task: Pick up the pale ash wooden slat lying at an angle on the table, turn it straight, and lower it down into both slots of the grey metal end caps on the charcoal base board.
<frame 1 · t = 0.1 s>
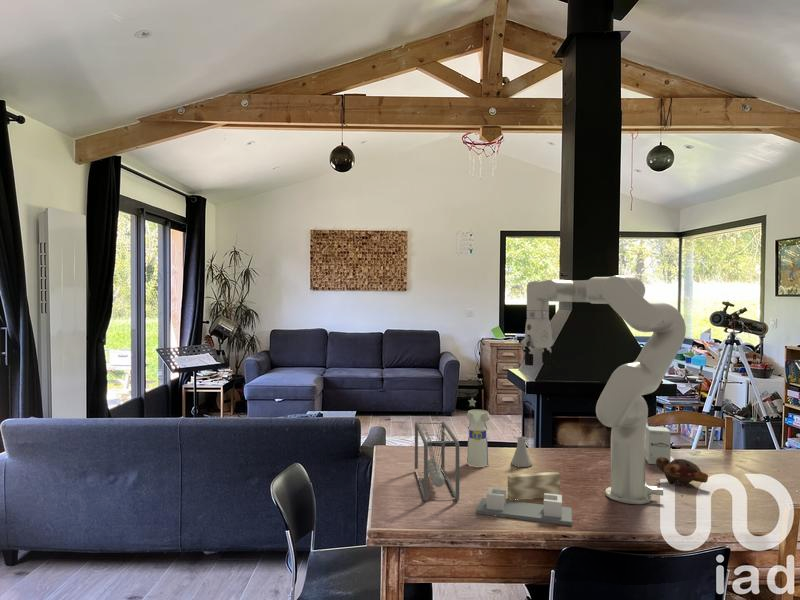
hand: (537, 364, 180), 37 cm above the table, tool pointing down, fingers open, 9 cm apart
decorative turtle: (681, 484, 165), on the table
slat: (534, 497, 153), on the table
flask: (521, 465, 185), on the table
supplement box: (657, 463, 189), on the table
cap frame: (524, 512, 141), on the table
newton's cradle: (435, 486, 163), on the table
water bottle: (478, 465, 185), on the table
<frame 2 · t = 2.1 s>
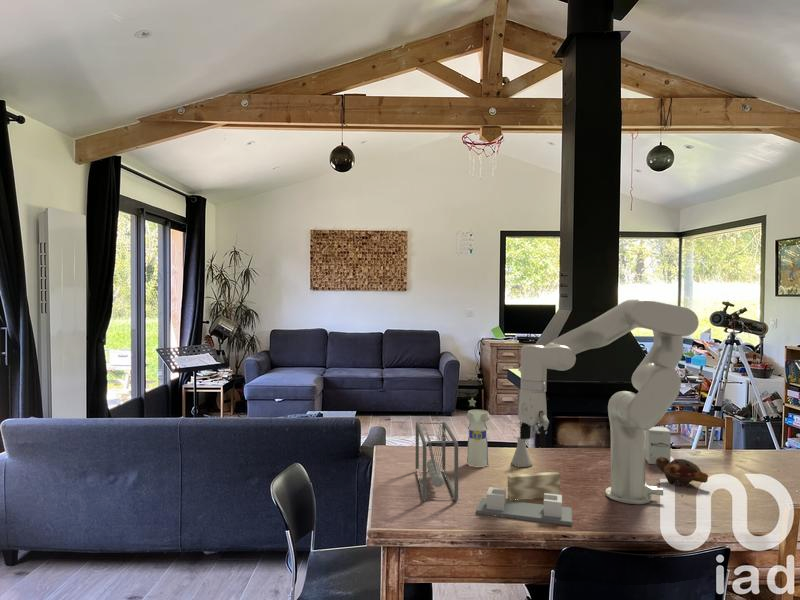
hand: (532, 442, 153), 16 cm above the table, tool pointing down, fingers open, 9 cm apart
nothing on the table moved.
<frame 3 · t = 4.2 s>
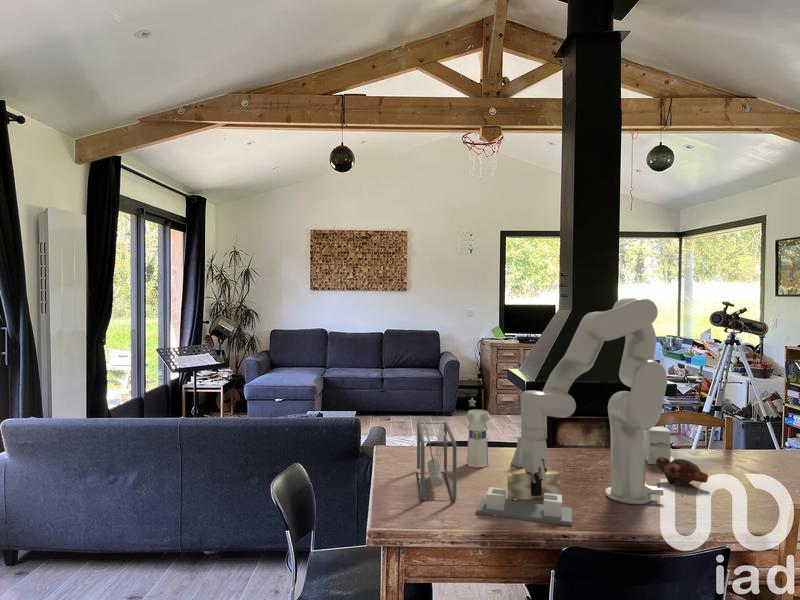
hand: (533, 493, 153), 1 cm above the table, tool pointing down, fingers closed on slat, 2 cm apart
slat: (534, 497, 153), on the table, touching gripper
everything else where it was.
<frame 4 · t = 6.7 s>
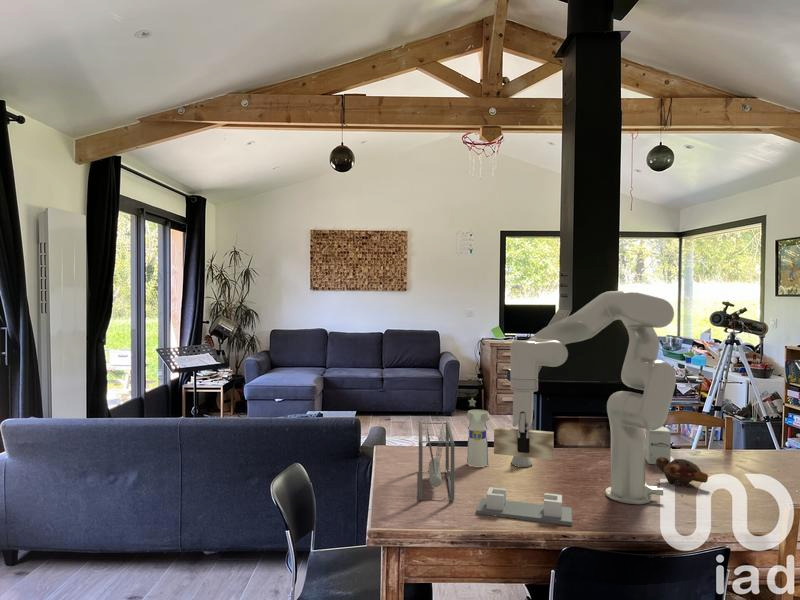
hand: (523, 450, 142), 17 cm above the table, tool pointing down, fingers closed on slat
slat: (523, 455, 142), point 16 cm above the table, touching gripper
everything else where it was.
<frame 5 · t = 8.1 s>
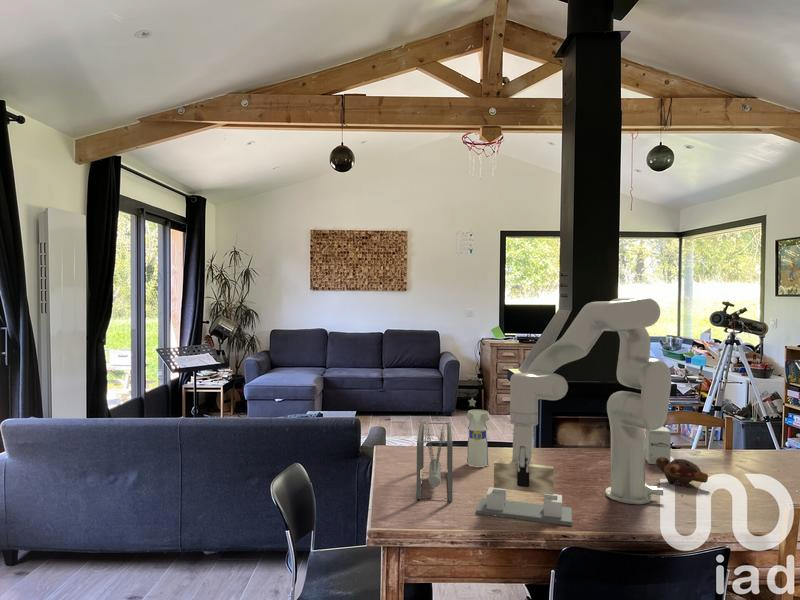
hand: (523, 484, 141), 8 cm above the table, tool pointing down, fingers closed on slat
slat: (523, 489, 141), point 6 cm above the table, touching gripper
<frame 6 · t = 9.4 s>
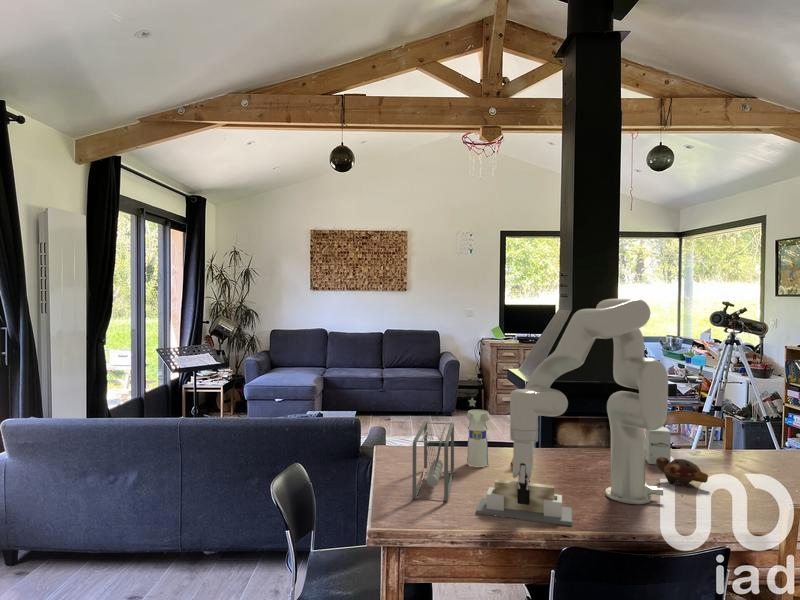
hand: (524, 499, 141), 4 cm above the table, tool pointing down, fingers open, 4 cm apart
slat: (524, 509, 141), point 1 cm above the table, touching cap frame
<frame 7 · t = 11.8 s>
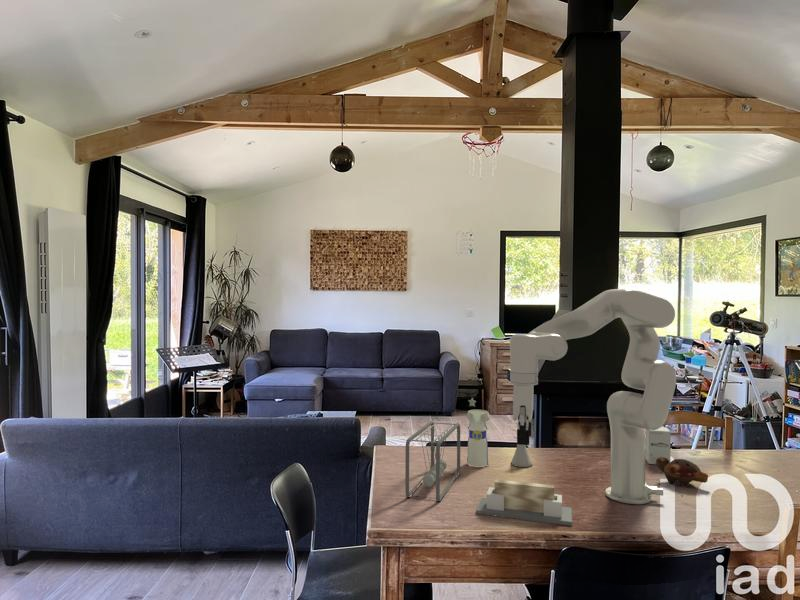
hand: (524, 440, 142), 20 cm above the table, tool pointing down, fingers open, 9 cm apart
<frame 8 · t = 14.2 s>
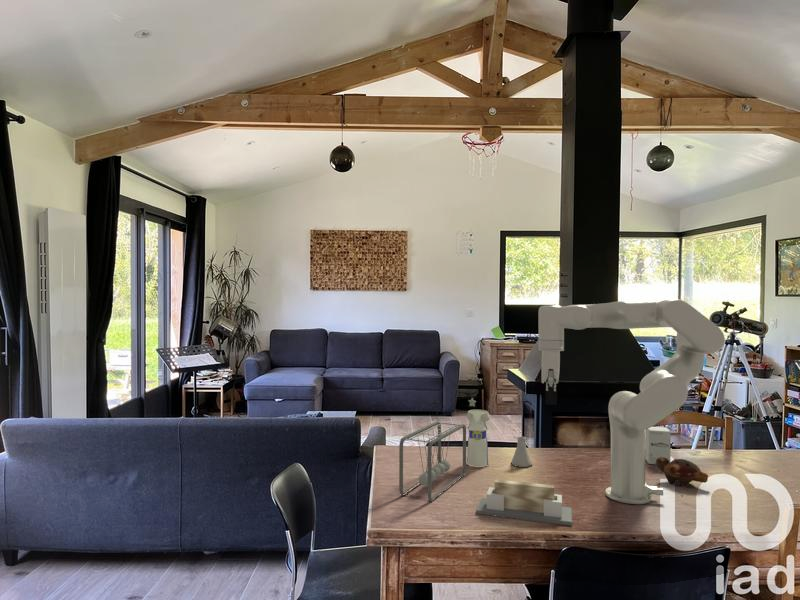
hand: (551, 401, 156), 28 cm above the table, tool pointing down, fingers open, 9 cm apart
at the end: slat 0.0 cm off-centre on the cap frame, point 1.0 cm above the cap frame's base; slat tilted 0°; the gripper is holding nothing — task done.
